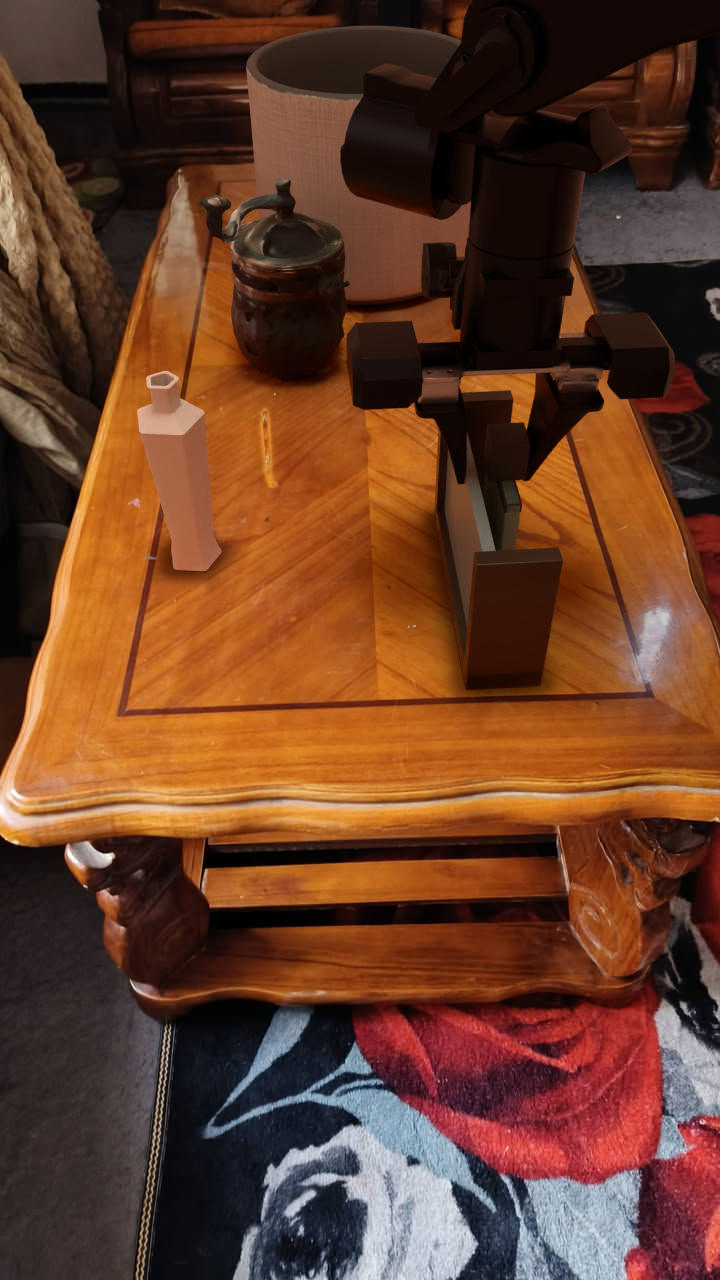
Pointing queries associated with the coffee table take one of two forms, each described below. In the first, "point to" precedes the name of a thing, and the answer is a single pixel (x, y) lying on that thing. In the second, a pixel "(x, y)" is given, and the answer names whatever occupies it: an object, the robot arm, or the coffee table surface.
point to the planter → (313, 136)
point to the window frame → (491, 568)
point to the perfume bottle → (180, 471)
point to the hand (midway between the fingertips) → (492, 479)
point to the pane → (505, 480)
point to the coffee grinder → (283, 283)
